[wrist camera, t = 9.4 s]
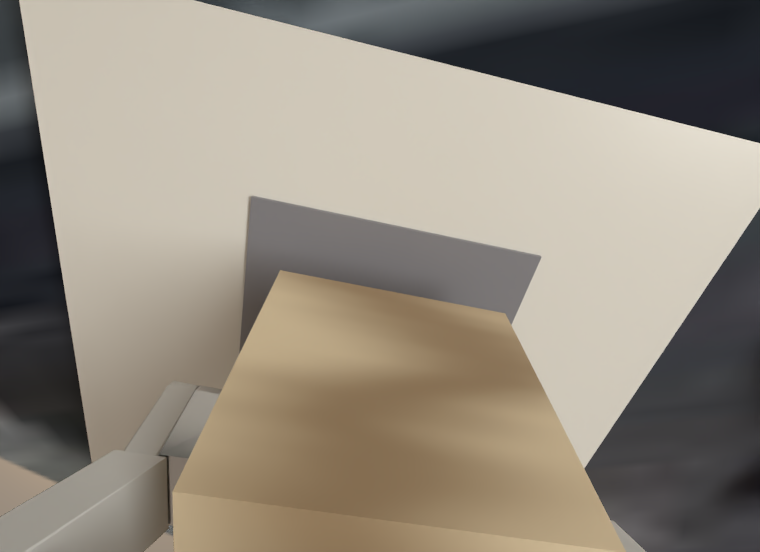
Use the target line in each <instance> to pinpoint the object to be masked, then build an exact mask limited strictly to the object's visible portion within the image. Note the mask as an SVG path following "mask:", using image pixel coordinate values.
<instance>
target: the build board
mask: <svg viewBox="0 0 760 552" xmlns="http://www.w3.org/2000/svg"><path fill="white" fill-rule="evenodd" d="M19 2H20V8H21V15H22V21H23V28H24V34H25V40H26V47H27V53H28V59H29V66H30V72H31V79H32V85H33V91H34V98H35V104H36V110H37V117H38V123H39V130H40V136H41V142H42V149H43V155H44V161H45V168H46V174H47V181H48V187H49V193H50V200H51V206H52V212H53V219H54V225H55V232H56V238H57V244H58V251H59V257H60V263H61V270H62V276H63V283H64V289H65V295H66V302H67V308H68V314H69V321H70V327H71V334H72V340H73V346H74V353H75V359H76V365H77V372H78V378H79V385H80V391H81V397H82V404H83V410H84V416H85V423H86V429H87V435H88V442H89V448H90V455H91V461H92V463H93V462H95V461H96V460H98V459H100V458H101V457H103V456H105V455H107V454H108V453H110V452H112V451H113V450H122V451H124V450H125V448H126V447H127V445H128V444H129V442H130V441H131V439H132V438H133V436H134V435H135V433H136V432H137V430H138V429H139V427H140V426H141V424H142V423H143V421H144V420H145V418H146V417H147V415H148V414H149V412H150V411H151V409H152V408H153V406H154V405H155V403H156V402H157V400H158V399H159V397H160V396H161V394H162V393H163V391H164V390H165V388H166V387H167V386H168V385H169V384H171V383H172V382H173V381H177V382H183V383H188V384H193V385H199V386H200V385H201V386H207V387H212V388H217V389H223V387H224V385H225V383H226V381H227V378H228V376H229V374H230V372H231V370H232V368H233V366H234V364H235V362H236V360H237V358H238V356H239V354H240V352H241V350H242V348H243V346H244V344H245V341H246V339H247V337H248V335H249V333H250V331H251V329H252V327H253V325H254V323H255V321H256V319H257V317H258V315H259V313H260V311H261V309H262V307H263V304H264V302H265V300H266V298H267V296H268V294H269V292H270V290H271V288H272V286H273V284H274V282H275V280H276V278H277V276H278V274H279V272H280V270H282V271H287V272H292V273H298V274H303V275H308V276H313V277H318V278H324V279H329V280H334V281H339V282H345V283H350V284H355V285H360V286H365V287H371V288H376V289H381V290H386V291H391V292H397V293H402V294H407V295H412V296H417V297H423V298H428V299H433V300H438V301H443V302H449V303H454V304H459V305H464V306H469V307H475V308H480V309H485V310H490V311H495V312H501V313H505V314H506V316H507V318H508V320H509V322H510V324H511V326H512V328H513V330H514V332H515V333H516V335H517V337H518V339H519V341H520V343H521V345H522V347H523V349H524V351H525V353H526V355H527V357H528V359H529V361H530V363H531V365H532V367H533V369H534V371H535V373H536V375H537V377H538V379H539V381H540V383H541V385H542V387H543V389H544V391H545V393H546V395H547V397H548V399H549V401H550V403H551V404H552V406H553V408H554V410H555V412H556V414H557V416H558V418H559V420H560V422H561V424H562V426H563V428H564V430H565V432H566V434H567V436H568V438H569V440H570V442H571V444H572V446H573V448H574V450H575V452H576V454H577V456H578V458H579V460H580V462H581V464H582V466H583V468H585V466H586V465H587V463H588V462H589V460H590V459H591V457H592V456H593V454H594V453H595V452H596V450H597V449H598V447H599V446H600V444H601V443H602V441H603V440H604V438H605V437H606V435H607V434H608V432H609V431H610V429H611V428H612V426H613V425H614V423H615V422H616V420H617V419H618V417H619V416H620V414H621V413H622V411H623V410H624V408H625V407H626V406H627V404H628V403H629V401H630V400H631V398H632V397H633V395H634V394H635V392H636V391H637V389H638V388H639V386H640V385H641V383H642V382H643V380H644V379H645V377H646V376H647V374H648V373H649V371H650V370H651V368H652V367H653V365H654V364H655V362H656V361H657V360H658V358H659V357H660V355H661V354H662V352H663V351H664V349H665V348H666V346H667V345H668V343H669V342H670V340H671V339H672V337H673V336H674V334H675V333H676V331H677V330H678V328H679V327H680V325H681V324H682V322H683V321H684V319H685V318H686V316H687V315H688V314H689V312H690V311H691V309H692V308H693V306H694V305H695V303H696V302H697V300H698V299H699V297H700V296H701V294H702V293H703V291H704V290H705V288H706V287H707V285H708V284H709V282H710V281H711V279H712V278H713V276H714V275H715V273H716V272H717V271H718V269H719V268H720V266H721V265H722V263H723V262H724V260H725V259H726V257H727V256H728V254H729V253H730V251H731V250H732V248H733V247H734V245H735V244H736V242H737V241H738V239H739V238H740V236H741V235H742V233H743V232H744V230H745V229H746V227H747V226H748V225H749V223H750V222H751V220H752V219H753V217H754V216H755V214H756V213H757V211H758V210H759V208H760V143H756V142H752V141H748V140H744V139H740V138H736V137H732V136H728V135H724V134H720V133H717V132H713V131H709V130H705V129H701V128H697V127H693V126H689V125H685V124H681V123H677V122H673V121H669V120H665V119H661V118H657V117H653V116H649V115H645V114H641V113H637V112H633V111H629V110H626V109H622V108H618V107H614V106H610V105H606V104H602V103H598V102H594V101H590V100H586V99H582V98H578V97H574V96H570V95H566V94H562V93H558V92H554V91H550V90H546V89H542V88H538V87H534V86H531V85H527V84H523V83H519V82H515V81H511V80H507V79H503V78H499V77H495V76H491V75H487V74H483V73H479V72H475V71H471V70H467V69H463V68H459V67H455V66H451V65H447V64H443V63H439V62H436V61H432V60H428V59H424V58H420V57H416V56H412V55H408V54H404V53H400V52H396V51H392V50H388V49H384V48H380V47H376V46H372V45H368V44H364V43H360V42H356V41H352V40H348V39H345V38H341V37H337V36H333V35H329V34H325V33H321V32H317V31H313V30H309V29H305V28H301V27H297V26H293V25H289V24H285V23H281V22H277V21H273V20H269V19H265V18H261V17H257V16H253V15H250V14H246V13H242V12H238V11H234V10H230V9H226V8H222V7H218V6H214V5H210V4H206V3H202V2H198V1H194V0H19Z"/></svg>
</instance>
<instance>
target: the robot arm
mask: <svg viewBox="0 0 760 552" xmlns="http://www.w3.org/2000/svg"><path fill="white" fill-rule="evenodd" d="M221 391H222V389H217V388H212V387H207V386H201V385H200V386H199V385H193V384H188V383H183V382H177V381H173V382H172V383H171V384H169V385H168V386H167V387H166V388H165V390H164V391H163V393H162V394H161V396H160V397H159V399H158V400H157V402H156V403H155V405H154V406H153V408H152V409H151V411H150V412H149V414H148V415H147V417H146V418H145V420H144V421H143V423H142V424H141V426H140V427H139V429H138V430H137V432H136V433H135V435H134V436H133V438H132V439H131V441H130V442H129V444H128V445H127V447H126V448H125V450H124V451H122V450H113V451H112V452H110V453H108V454H107V455H105V456H103V457H101V458H100V459H98V460H96V461H95V462H93V463H91V464H89V465H88V466H86V467H84V468H83V469H81V470H79V471H77V472H76V473H74V474H72V475H71V476H69V477H67V478H65V479H64V480H62V481H60V482H59V483H57V484H55V485H54V486H52V487H50V488H48V489H47V490H45V491H43V492H42V493H40V494H38V495H36V496H35V497H33V498H31V499H30V500H28V501H26V502H24V503H23V504H21V505H19V506H17V507H16V508H14V509H12V510H11V511H9V512H7V513H5V514H4V515H2V516H0V552H144V551H145V550H146V549H147V548H148V547H149V546H150V545H151V544H152V543H153V542H155V541H156V540H157V539H158V538H159V537H160V536H161V535H162V534H163V533H164V532H165V531H166V530H167V529H168V525H172V526H173V495H172V492H173V490H174V487H175V485H176V483H177V481H178V479H179V477H180V475H181V473H182V471H183V469H184V467H185V465H186V463H187V461H188V459H189V457H190V455H191V453H192V450H193V448H194V446H195V444H196V442H197V440H198V438H199V436H200V434H201V432H202V430H203V428H204V426H205V424H206V422H207V420H208V418H209V415H210V413H211V411H212V409H213V407H214V405H215V403H216V401H217V399H218V397H219V395H220V393H221ZM610 521H611V520H610ZM611 523H612V525H613V527H614V529H615V531H616V533H617V535H618V537H619V539H620V541H621V543H622V545H623V546H624V548H625V550H626V552H646V551H645V550H644V549H643V548H642V547H641V546H639V545H638V544H637V543H636V542H635V541H634V540H633V539H632V538H631V537H630V536H629V535H628V534H627V533H626V532H625V531H624V530H622V529H621V528H620V527H619V526H618V525H617V524H616V523H615V522H614V521H611Z"/></svg>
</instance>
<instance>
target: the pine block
mask: <svg viewBox="0 0 760 552" xmlns="http://www.w3.org/2000/svg"><path fill="white" fill-rule="evenodd" d="M172 495H173V540H174V552H626V550H625V548H624V546H623V545H622V543H621V541H620V539H619V537H618V535H617V533H616V531H615V529H614V527H613V525H612V523H611V521H610V519H609V517H608V515H607V513H606V511H605V509H604V507H603V505H602V503H601V501H600V499H599V497H598V495H597V493H596V491H595V489H594V487H593V485H592V483H591V481H590V479H589V477H588V475H587V474H586V472H585V470H584V468H583V466H582V464H581V462H580V460H579V458H578V456H577V454H576V452H575V450H574V448H573V446H572V444H571V442H570V440H569V438H568V436H567V434H566V432H565V430H564V428H563V426H562V424H561V422H560V420H559V418H558V416H557V414H556V412H555V410H554V408H553V406H552V404H551V403H550V401H549V399H548V397H547V395H546V393H545V391H544V389H543V387H542V385H541V383H540V381H539V379H538V377H537V375H536V373H535V371H534V369H533V367H532V365H531V363H530V361H529V359H528V357H527V355H526V353H525V351H524V349H523V347H522V345H521V343H520V341H519V339H518V337H517V335H516V333H515V332H514V330H513V328H512V326H511V324H510V322H509V320H508V318H507V316H506V314H505V313H501V312H495V311H490V310H485V309H480V308H475V307H469V306H464V305H459V304H454V303H449V302H443V301H438V300H433V299H428V298H423V297H417V296H412V295H407V294H402V293H397V292H391V291H386V290H381V289H376V288H371V287H365V286H360V285H355V284H350V283H345V282H339V281H334V280H329V279H324V278H318V277H313V276H308V275H303V274H298V273H292V272H287V271H282V270H280V272H279V274H278V276H277V278H276V280H275V282H274V284H273V286H272V288H271V290H270V292H269V294H268V296H267V298H266V300H265V302H264V304H263V307H262V309H261V311H260V313H259V315H258V317H257V319H256V321H255V323H254V325H253V327H252V329H251V331H250V333H249V335H248V337H247V339H246V341H245V344H244V346H243V348H242V350H241V352H240V354H239V356H238V358H237V360H236V362H235V364H234V366H233V368H232V370H231V372H230V374H229V376H228V378H227V381H226V383H225V385H224V387H223V389H222V391H221V393H220V395H219V397H218V399H217V401H216V403H215V405H214V407H213V409H212V411H211V413H210V415H209V418H208V420H207V422H206V424H205V426H204V428H203V430H202V432H201V434H200V436H199V438H198V440H197V442H196V444H195V446H194V448H193V450H192V453H191V455H190V457H189V459H188V461H187V463H186V465H185V467H184V469H183V471H182V473H181V475H180V477H179V479H178V481H177V483H176V485H175V487H174V490H173V492H172Z"/></svg>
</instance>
